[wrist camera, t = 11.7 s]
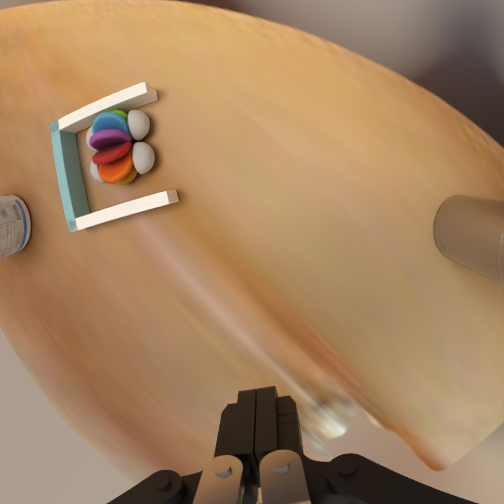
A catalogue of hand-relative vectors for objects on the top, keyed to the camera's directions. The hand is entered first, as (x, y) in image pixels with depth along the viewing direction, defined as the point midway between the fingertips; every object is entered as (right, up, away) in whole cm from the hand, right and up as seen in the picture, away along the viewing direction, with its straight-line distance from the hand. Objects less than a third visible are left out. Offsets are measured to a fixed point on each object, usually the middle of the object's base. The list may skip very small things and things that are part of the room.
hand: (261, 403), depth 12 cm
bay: (-18, +18, +24) cm, 35 cm away
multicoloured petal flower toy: (-17, +20, +24) cm, 35 cm away
